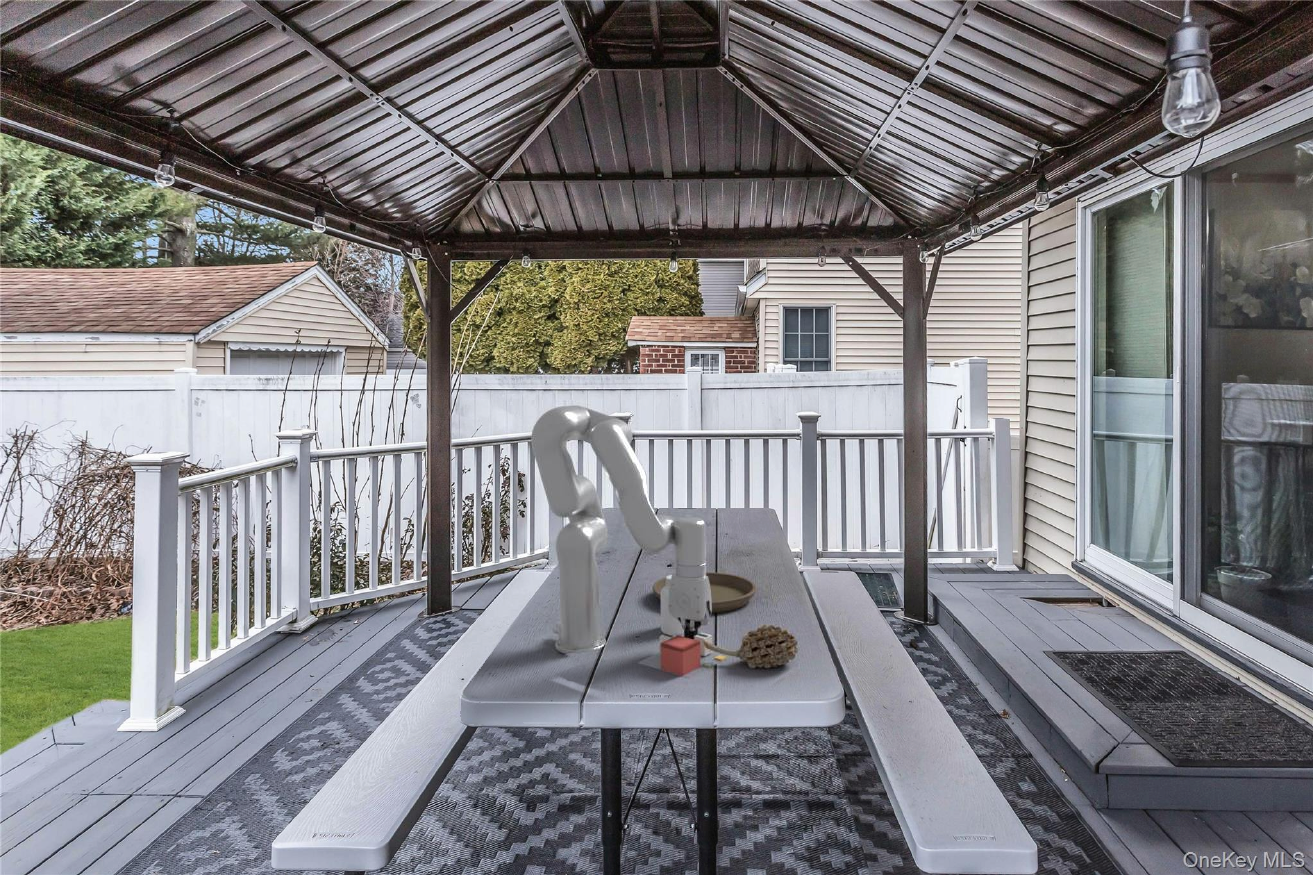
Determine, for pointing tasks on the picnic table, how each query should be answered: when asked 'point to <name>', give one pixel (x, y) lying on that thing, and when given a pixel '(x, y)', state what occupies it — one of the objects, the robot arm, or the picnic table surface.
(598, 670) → the picnic table surface
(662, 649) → the cap
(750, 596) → the plant saucer
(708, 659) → the breaker panel
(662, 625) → the pill bottle
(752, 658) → the pine cone
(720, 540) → the picnic table surface
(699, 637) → the breaker toggle
